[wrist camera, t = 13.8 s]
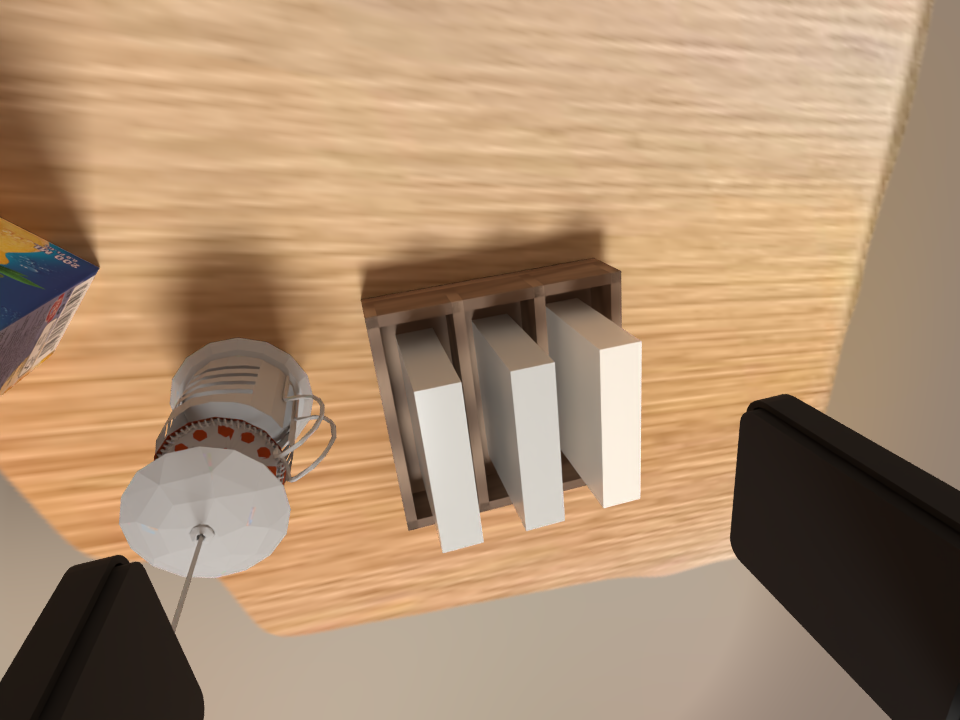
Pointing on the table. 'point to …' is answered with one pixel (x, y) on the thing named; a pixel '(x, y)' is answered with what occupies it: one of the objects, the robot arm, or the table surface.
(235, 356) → the french press
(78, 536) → the table surface
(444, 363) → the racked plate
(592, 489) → the plate
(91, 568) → the robot arm
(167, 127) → the table surface
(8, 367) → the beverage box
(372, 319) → the rack
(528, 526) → the racked plate mid
